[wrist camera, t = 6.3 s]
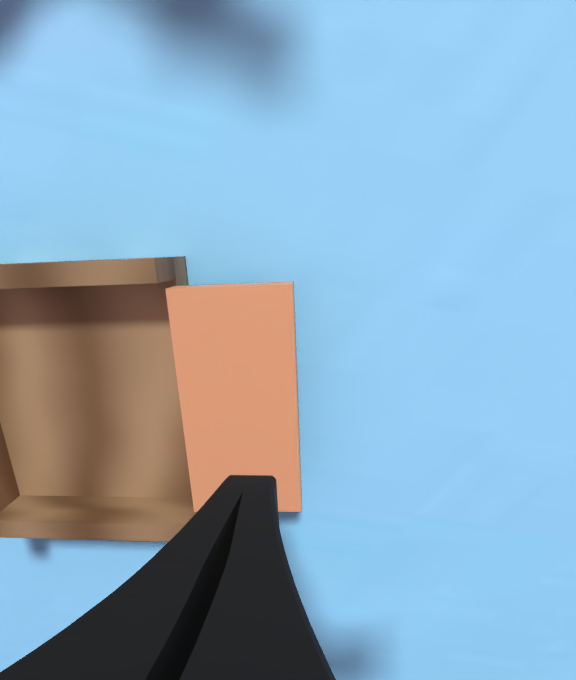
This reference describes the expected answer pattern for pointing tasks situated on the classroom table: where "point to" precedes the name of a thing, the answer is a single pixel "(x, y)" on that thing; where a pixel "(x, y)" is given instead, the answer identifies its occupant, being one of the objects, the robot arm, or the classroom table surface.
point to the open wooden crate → (91, 402)
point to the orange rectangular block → (238, 384)
